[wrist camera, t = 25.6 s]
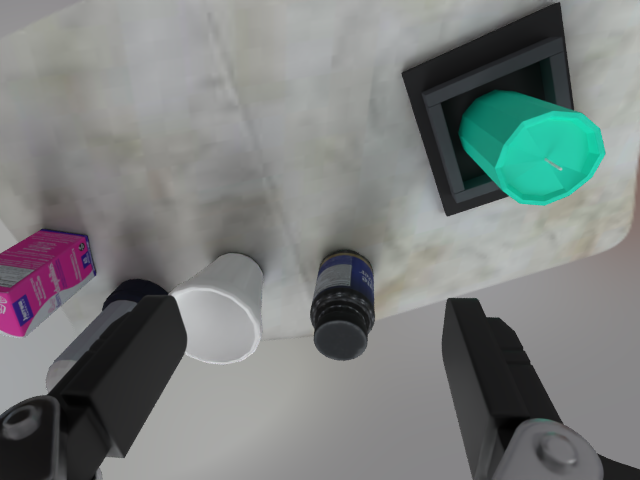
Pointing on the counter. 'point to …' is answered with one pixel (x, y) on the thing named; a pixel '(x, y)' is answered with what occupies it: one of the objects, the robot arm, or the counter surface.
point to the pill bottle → (343, 305)
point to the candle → (531, 145)
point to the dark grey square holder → (477, 80)
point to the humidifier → (101, 325)
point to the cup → (222, 309)
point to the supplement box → (41, 278)
